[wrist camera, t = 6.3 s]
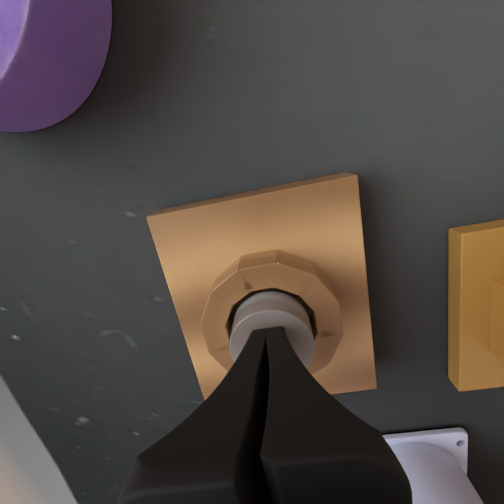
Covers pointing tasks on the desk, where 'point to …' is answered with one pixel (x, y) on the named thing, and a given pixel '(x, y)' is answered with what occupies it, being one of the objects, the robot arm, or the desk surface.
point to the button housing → (272, 272)
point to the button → (273, 322)
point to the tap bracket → (476, 306)
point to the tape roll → (49, 59)
